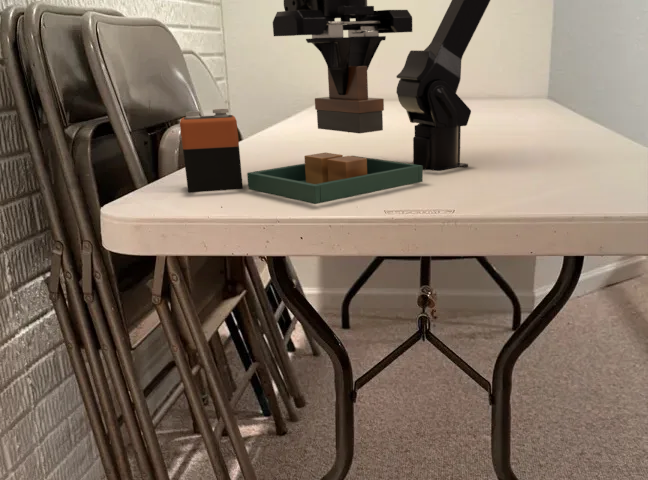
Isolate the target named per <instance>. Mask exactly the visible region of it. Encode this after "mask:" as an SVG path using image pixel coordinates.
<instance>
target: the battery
mask: <svg viewBox="0 0 648 480" xmlns="http://www.w3.org/2000/svg"><path fill="white" fill-rule="evenodd" d="M228 113H229V108H214V109H213V108H212V114H214V115H200V111H195V110H193V111H186V112H185V115H186V116H184V117H182V118H181V119H180V121H179V128H180V136H181V144H182V154H183V161H184V169H185V178H186V185H187V192H188V193H203V192H204V193H205V192H218V191H219V192H220V191H232V190H243V189H244V185H243V184H244V183H243V174H242V164H241V163H242V162H241V152H240V142H239V131H238V121H237V119H236V117H235V116H234V115H233V114H228Z"/></svg>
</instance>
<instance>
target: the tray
mask: <svg viewBox="0 0 648 480" xmlns="http://www.w3.org/2000/svg"><path fill="white" fill-rule="evenodd" d="M352 156H353V157H360V158H366V159H367V175H362V176H356V177H351V178H346V179H340V180H335V181H330V182H325V183H319V184H311V183H306V173H305V162H304V163H299V164H293V165H285V166H279V167H274V168H268V169H261V170H257V171H255V170H254V171H249V172H247V173H246V177H247V188H248V190H251V191H255V192H259V193H264V194H267V195H274V196H277V197H281V198H286V199H290V200H294V201H300V202H304V203H310V204H312V205H317V204H323V203H328V202H332V201H338V200H342V199H346V198H352V197H356V196H361V195H365V194H370V193H375V192H380V191H384V190H389V189H394V188H398V187H404V186H409V185H412V184H418V183H422V182H423V181H424V180H423V179H424V173H423V171H424V169H423V166H422V165H416V164H413V163H407V162H401V161H394V160H388V159H387V160H386V159H379V158H372V157H366V156H365V157H364V156H359V155H358V156H357V155H352Z"/></svg>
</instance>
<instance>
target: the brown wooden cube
mask: <svg viewBox="0 0 648 480" xmlns="http://www.w3.org/2000/svg"><path fill="white" fill-rule="evenodd" d="M338 157H344V154H340V153H339V154H338V153H331V152H319V153H313V154H307V155H304V163H305V173H306V183H311V184H319V183H325V182H328V162H327V160H328V159H332V158H338Z"/></svg>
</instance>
